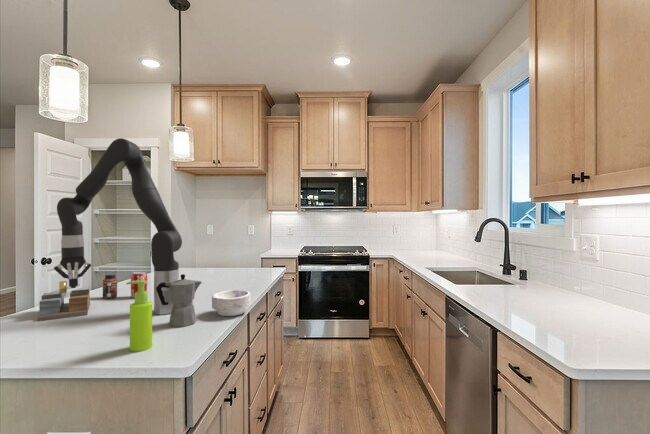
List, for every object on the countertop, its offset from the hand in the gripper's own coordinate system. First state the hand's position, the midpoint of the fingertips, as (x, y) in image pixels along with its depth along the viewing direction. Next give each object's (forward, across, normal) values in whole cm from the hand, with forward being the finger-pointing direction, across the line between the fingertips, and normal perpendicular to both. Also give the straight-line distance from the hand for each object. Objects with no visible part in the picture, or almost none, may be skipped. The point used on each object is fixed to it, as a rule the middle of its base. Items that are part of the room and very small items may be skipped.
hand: (73, 287), depth 140 cm
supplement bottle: (+10, +12, +19) cm, 25 cm away
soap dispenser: (+10, +20, -59) cm, 63 cm away
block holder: (+10, -3, 0) cm, 10 cm away
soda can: (+10, +24, +13) cm, 29 cm away
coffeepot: (+10, +34, -41) cm, 55 cm away
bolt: (+3, -6, 0) cm, 7 cm away
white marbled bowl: (+11, +54, -38) cm, 67 cm away
